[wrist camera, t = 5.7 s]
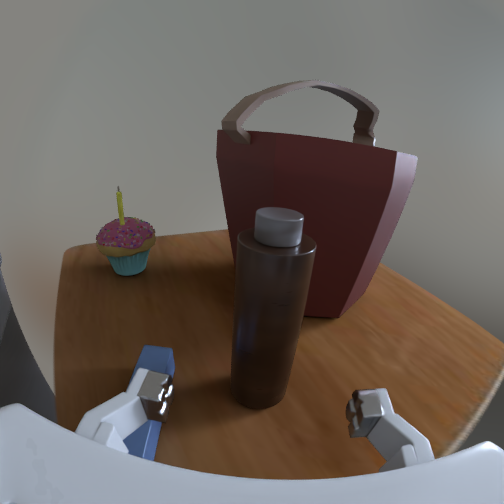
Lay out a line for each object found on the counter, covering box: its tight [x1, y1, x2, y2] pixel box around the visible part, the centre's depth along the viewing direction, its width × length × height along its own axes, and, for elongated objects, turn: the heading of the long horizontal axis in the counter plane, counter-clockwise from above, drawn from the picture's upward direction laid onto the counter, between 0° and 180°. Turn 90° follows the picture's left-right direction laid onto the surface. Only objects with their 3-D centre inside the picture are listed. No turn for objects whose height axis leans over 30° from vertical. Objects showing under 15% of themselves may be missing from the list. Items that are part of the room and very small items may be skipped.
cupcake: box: [96, 186, 156, 276], centre depth 35 cm, size 9×8×12 cm
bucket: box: [216, 80, 417, 318], centre depth 32 cm, size 24×22×25 cm
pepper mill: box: [230, 207, 316, 409], centre depth 18 cm, size 4×4×14 cm
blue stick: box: [122, 345, 175, 461], centre depth 16 cm, size 10×2×2 cm, turn 1°
